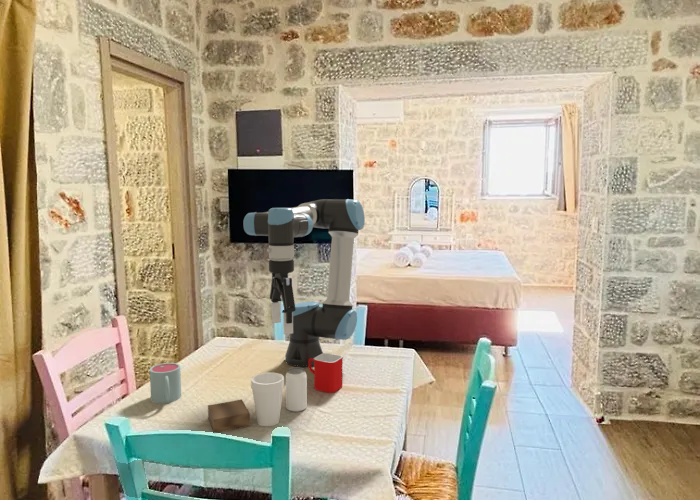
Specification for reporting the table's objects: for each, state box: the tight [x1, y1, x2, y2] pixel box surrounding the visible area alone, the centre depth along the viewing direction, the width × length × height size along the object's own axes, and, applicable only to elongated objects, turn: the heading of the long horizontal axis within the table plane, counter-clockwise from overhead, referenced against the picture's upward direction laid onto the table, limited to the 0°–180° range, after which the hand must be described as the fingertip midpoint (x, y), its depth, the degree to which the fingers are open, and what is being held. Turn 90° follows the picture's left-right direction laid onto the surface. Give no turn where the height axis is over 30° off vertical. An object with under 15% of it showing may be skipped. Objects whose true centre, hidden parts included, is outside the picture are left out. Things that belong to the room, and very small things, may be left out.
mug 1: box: [149, 362, 182, 404], centre depth 157 cm, size 14×9×10 cm
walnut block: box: [207, 399, 251, 433], centre depth 142 cm, size 10×10×4 cm
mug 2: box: [308, 352, 344, 394], centre depth 168 cm, size 12×8×11 cm
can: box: [285, 366, 308, 413], centre depth 152 cm, size 6×6×12 cm
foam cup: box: [250, 371, 285, 427], centre depth 142 cm, size 10×9×13 cm
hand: (282, 327), depth 150 cm, fingers open, 13 cm apart
